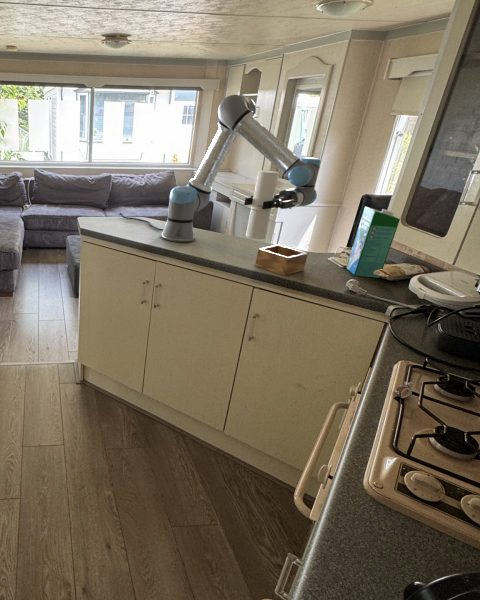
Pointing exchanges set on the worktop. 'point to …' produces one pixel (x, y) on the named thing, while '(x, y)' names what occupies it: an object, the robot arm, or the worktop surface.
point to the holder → (281, 259)
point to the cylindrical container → (261, 204)
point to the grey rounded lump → (404, 390)
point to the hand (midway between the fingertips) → (254, 203)
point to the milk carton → (372, 242)
